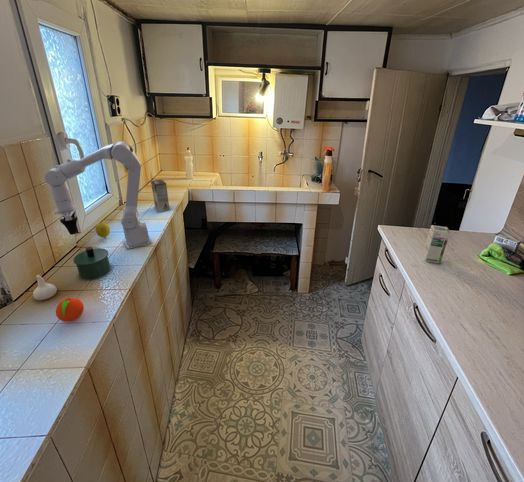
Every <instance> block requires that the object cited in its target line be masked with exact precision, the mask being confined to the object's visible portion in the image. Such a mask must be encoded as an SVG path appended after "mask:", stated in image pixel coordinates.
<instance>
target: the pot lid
mask: <svg viewBox="0 0 524 482" xmlns="http://www.w3.org/2000/svg"><path fill="white" fill-rule="evenodd" d="M107 256H108V257H109V251H108V250H107V249H105V248H102V247H95V248H93V246H88V247H85V250H83V251H81V252H79V253H77V254H76V255H74V257H73V263H74V264H75V265H76V264H77V265H82V266H84V265H91V264H95V263H98V262H100V261H102V260H104V259H105V258H106V257H107Z"/></svg>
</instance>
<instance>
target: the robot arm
mask: <svg viewBox="0 0 524 482" xmlns="http://www.w3.org/2000/svg"><path fill="white" fill-rule="evenodd" d="M113 159H114V160H115V161H116V162H119V163H121V164H122V165H123V166H125V167H126V168H127V171H128V173H127V182H126V183H127V184H126V194H125V196H126V197H125V206H124V207H125V208H124V210H123V212H122V217H121V221H120V222H121V226H122V231H123V235H124V238H125V240H124V241H123V242H124V244H125V247H126V249H127V250H131V249H134V248H139V247H142V246H147V245H150V244H151V242H150V236H149V231H148V227H147V224H146V222H140V221H139V216H140V215H139V211H138V200H139V193H140V192H139V191H140V181H141V171H142V163H141V161H140V160H139V157H138V156H137V154H136V152H135V150H134V148H133V147H132V146H131V145H130V144H129V143H128V142H126V141H123V140H118V141H116V142H115V143H110V144H107V145H105V146H103V147H101V148H99V149H97V150H96V151H94V152H92V153H90V154H88V155H86V156H84V157H81V158H76V157H74V158H67V159H66V161H65V162H63V163H61V164H56V165H54V167H52V168H50V169H49V170H48V171H47V172H46V173H44V181H45V182H46V184H47V185H49V188H50V192H51V195H52V198H53V201H54V204H55V206H56V207H55V208H56V210H54V211H55V212H54V211H53V212H54V215H59V216H61V215H62V216H63V217H64V218H63V217H62V216H61V217H62V218H59V222H60V223H61V224H62V225H63V226H64V227H65V228H66V230H67V232H68V233H69V235H70V236H73V235H76V234H77V233H78V228H77V222H78V216H76V212H77V208H76V207H75V203H74V199H73V197H72V194H71V191H70V187H69V184H68V181H67V180H70V179H73V178H74V177H77V176H79V175H81V174H83V173H84V172H85V171H86V168H87V167H89V166H91V165H93V164H95V163H98V162H100V161H102V160H110V161H113Z"/></svg>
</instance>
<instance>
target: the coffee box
mask: <svg viewBox="0 0 524 482" xmlns="http://www.w3.org/2000/svg"><path fill="white" fill-rule="evenodd" d="M150 185H151V191H152V196H153V203H154V207H155V209H156V210H157V211H158V212H159V213H161V212H166V211H170V209H171V208H170V202H169V193H168V187H167V183H166V181H164V179H162V178H161V179H155V180H151V181H150Z"/></svg>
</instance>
